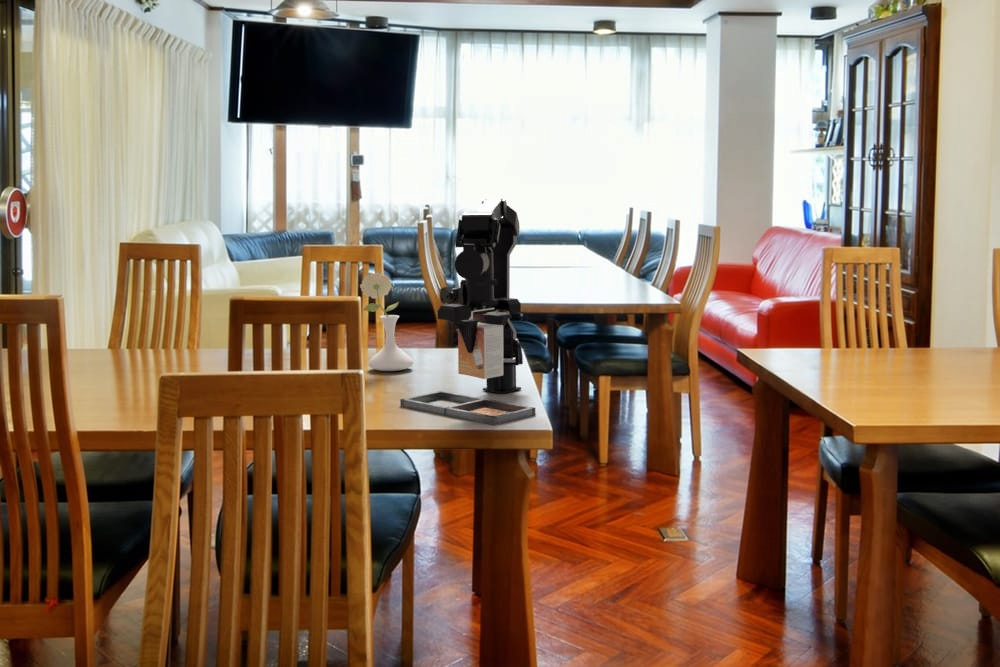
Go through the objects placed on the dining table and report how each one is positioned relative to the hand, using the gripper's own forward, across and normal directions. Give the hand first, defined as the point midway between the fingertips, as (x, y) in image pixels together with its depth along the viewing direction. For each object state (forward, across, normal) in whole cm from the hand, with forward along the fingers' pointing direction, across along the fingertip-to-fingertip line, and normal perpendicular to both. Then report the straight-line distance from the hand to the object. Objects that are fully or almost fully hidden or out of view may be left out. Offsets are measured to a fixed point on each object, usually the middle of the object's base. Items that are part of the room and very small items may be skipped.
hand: (480, 351), depth 221 cm
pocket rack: (+13, 0, -5) cm, 14 cm away
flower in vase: (+13, -20, -55) cm, 60 cm away
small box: (+5, 0, 0) cm, 5 cm away
